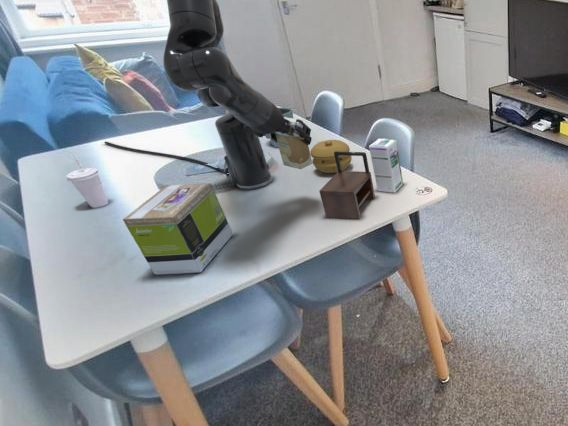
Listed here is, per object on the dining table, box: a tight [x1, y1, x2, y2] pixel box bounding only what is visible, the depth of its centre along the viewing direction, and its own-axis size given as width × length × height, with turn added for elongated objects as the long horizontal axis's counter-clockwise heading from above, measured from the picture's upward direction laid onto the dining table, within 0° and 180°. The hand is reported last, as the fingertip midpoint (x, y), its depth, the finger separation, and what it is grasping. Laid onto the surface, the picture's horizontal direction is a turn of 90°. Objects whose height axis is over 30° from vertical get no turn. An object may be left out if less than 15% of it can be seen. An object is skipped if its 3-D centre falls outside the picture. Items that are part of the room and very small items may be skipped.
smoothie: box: [65, 156, 109, 209], centre depth 114 cm, size 6×6×14 cm
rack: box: [319, 151, 376, 220], centre depth 113 cm, size 9×12×14 cm
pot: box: [309, 139, 353, 174], centre depth 135 cm, size 12×12×10 cm
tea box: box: [122, 182, 234, 276], centre depth 94 cm, size 15×10×15 cm, turn 5°
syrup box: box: [368, 138, 404, 194], centre depth 123 cm, size 6×6×14 cm
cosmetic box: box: [275, 117, 313, 170], centre depth 110 cm, size 6×4×12 cm
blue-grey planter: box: [270, 107, 294, 149], centre depth 154 cm, size 10×10×12 cm
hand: (295, 141), depth 111 cm, fingers closed on cosmetic box, 7 cm apart
